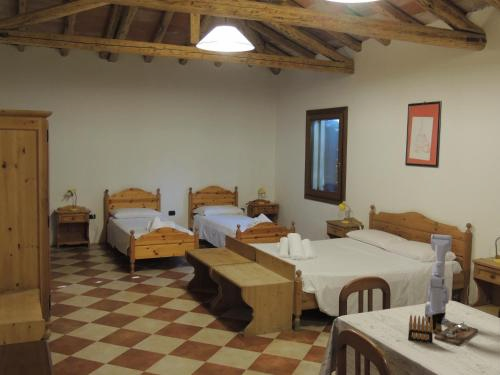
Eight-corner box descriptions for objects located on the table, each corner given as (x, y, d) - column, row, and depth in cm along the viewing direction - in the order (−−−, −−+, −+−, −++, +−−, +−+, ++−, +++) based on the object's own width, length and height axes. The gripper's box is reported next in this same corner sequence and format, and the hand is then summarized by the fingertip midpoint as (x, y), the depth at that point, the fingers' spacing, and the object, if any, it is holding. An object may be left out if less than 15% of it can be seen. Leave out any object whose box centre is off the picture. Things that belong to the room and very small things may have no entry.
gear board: (434, 338, 235) (434, 336, 235) (455, 325, 252) (455, 323, 252) (457, 345, 227) (458, 342, 227) (477, 331, 244) (478, 328, 244)
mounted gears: (442, 336, 234) (442, 329, 234) (459, 325, 249) (459, 319, 248) (453, 340, 231) (454, 333, 230) (470, 328, 245) (470, 322, 244)
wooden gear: (426, 330, 245) (427, 324, 245) (431, 327, 249) (432, 321, 249) (438, 334, 241) (439, 327, 241) (443, 330, 245) (443, 324, 244)
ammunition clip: (432, 341, 231) (433, 316, 230) (432, 343, 230) (433, 317, 229) (408, 338, 235) (409, 313, 234) (407, 340, 233) (408, 315, 232)
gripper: (438, 306, 235) (436, 334, 237) (451, 299, 246) (449, 326, 247) (423, 302, 240) (422, 330, 242) (436, 295, 251) (435, 322, 252)
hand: (435, 328), depth 245 cm, fingers closed on wooden gear, 5 cm apart
